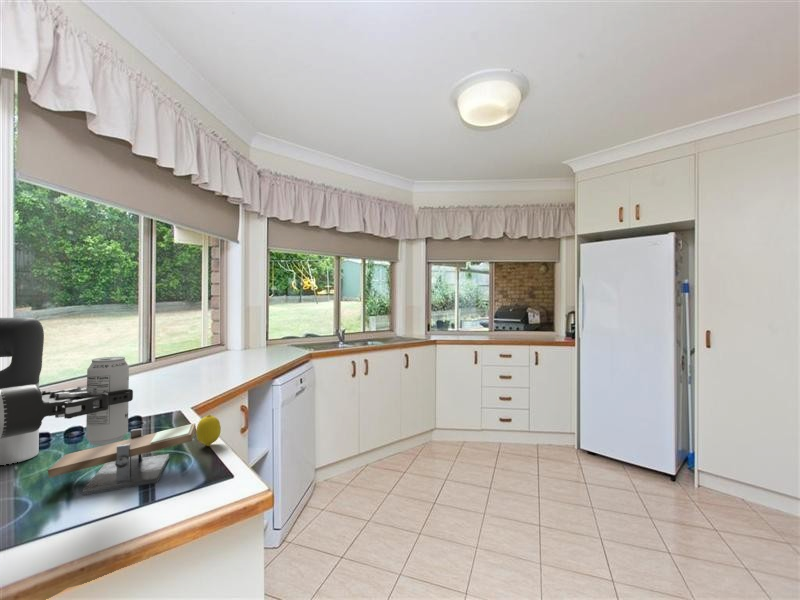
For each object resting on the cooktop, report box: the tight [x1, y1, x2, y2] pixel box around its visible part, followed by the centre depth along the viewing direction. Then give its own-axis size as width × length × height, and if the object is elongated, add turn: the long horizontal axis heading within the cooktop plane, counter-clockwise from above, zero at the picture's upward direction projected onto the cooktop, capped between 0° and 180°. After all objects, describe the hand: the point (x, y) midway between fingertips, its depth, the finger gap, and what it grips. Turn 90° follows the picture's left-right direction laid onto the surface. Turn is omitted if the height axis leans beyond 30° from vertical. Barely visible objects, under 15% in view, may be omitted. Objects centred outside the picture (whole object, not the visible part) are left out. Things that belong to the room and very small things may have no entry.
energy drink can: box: [85, 356, 130, 446], centre depth 67 cm, size 6×6×15 cm
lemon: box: [195, 414, 222, 447], centre depth 94 cm, size 6×6×8 cm
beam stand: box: [82, 427, 170, 496], centre depth 78 cm, size 12×13×8 cm
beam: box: [47, 423, 197, 478], centre depth 78 cm, size 24×8×2 cm, turn 114°
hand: (123, 392), depth 70 cm, fingers closed on energy drink can, 6 cm apart
